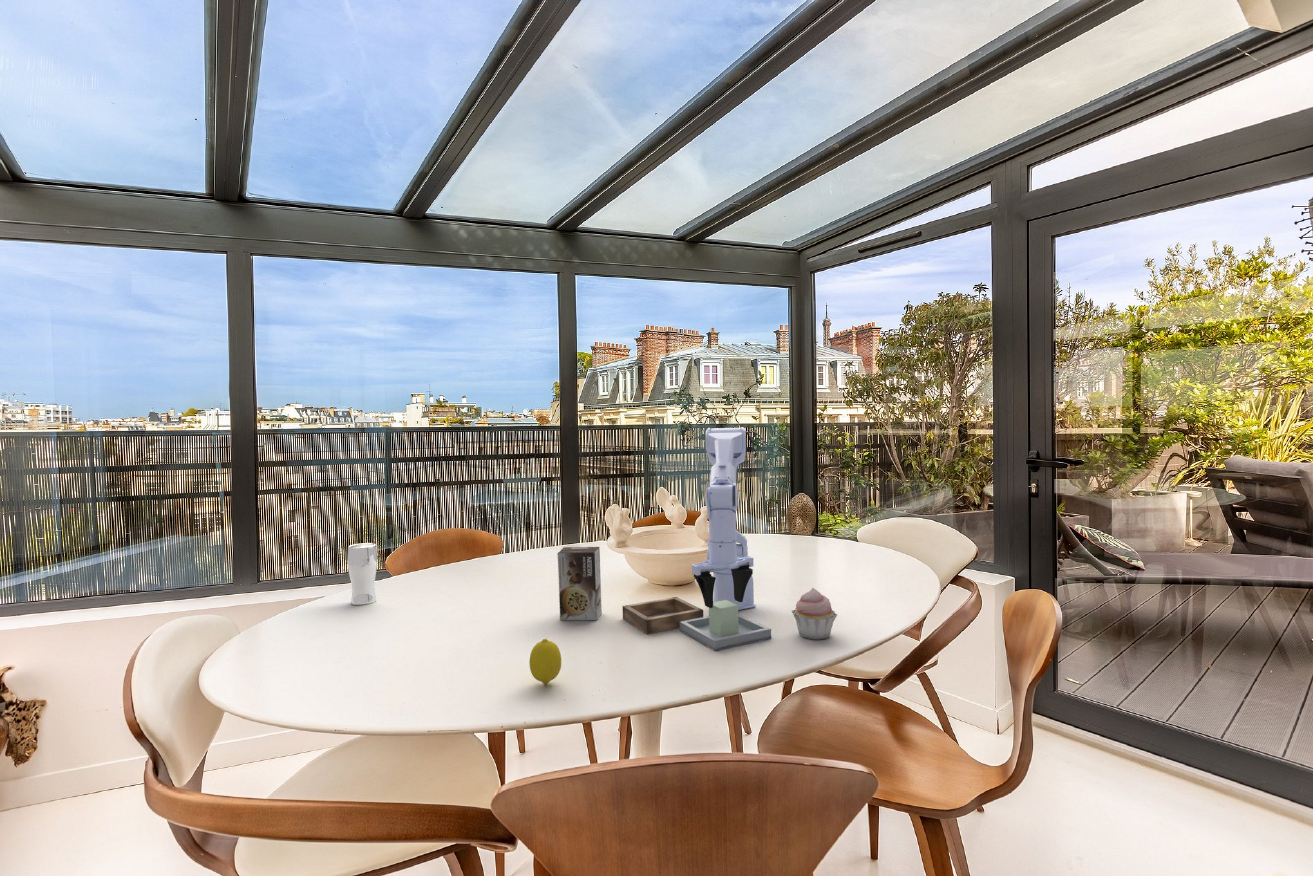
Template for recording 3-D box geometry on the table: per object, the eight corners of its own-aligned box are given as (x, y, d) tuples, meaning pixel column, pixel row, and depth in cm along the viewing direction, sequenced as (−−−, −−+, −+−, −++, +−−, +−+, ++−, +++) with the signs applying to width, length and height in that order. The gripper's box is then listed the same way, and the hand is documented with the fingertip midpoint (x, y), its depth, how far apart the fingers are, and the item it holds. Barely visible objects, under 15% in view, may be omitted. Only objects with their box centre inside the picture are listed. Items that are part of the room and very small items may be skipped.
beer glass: (370, 605, 159) (368, 547, 159) (343, 606, 159) (341, 548, 159) (382, 598, 166) (381, 542, 166) (357, 598, 166) (355, 543, 166)
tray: (732, 620, 141) (732, 611, 141) (771, 638, 129) (771, 628, 129) (679, 630, 135) (679, 621, 135) (714, 651, 122) (714, 641, 122)
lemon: (531, 678, 111) (530, 634, 111) (563, 677, 111) (561, 633, 111) (528, 692, 105) (526, 645, 105) (560, 690, 106) (559, 643, 106)
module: (726, 627, 135) (726, 600, 135) (738, 633, 131) (738, 605, 131) (709, 630, 133) (708, 603, 133) (720, 637, 129) (720, 608, 129)
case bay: (676, 609, 151) (676, 596, 151) (703, 623, 140) (703, 609, 140) (622, 618, 144) (622, 606, 144) (646, 634, 133) (646, 620, 133)
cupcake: (825, 626, 136) (824, 581, 135) (845, 640, 126) (844, 592, 126) (784, 629, 134) (784, 583, 134) (802, 644, 125) (801, 595, 125)
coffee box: (602, 612, 149) (600, 546, 149) (597, 621, 143) (595, 551, 142) (565, 612, 150) (563, 546, 150) (558, 620, 144) (556, 551, 143)
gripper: (703, 547, 124) (705, 614, 125) (761, 539, 131) (762, 603, 131) (686, 542, 131) (687, 605, 131) (742, 534, 137) (743, 595, 138)
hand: (723, 603), depth 132 cm, fingers open, 7 cm apart
